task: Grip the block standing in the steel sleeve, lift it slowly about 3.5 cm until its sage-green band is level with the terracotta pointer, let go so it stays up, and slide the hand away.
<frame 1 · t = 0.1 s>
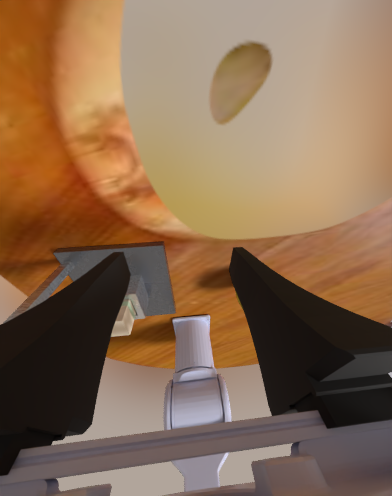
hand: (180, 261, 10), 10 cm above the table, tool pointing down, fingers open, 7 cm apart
stand: (128, 284, 25), on the table
block: (120, 307, 22), point 4 cm above the table, slide at 0.0 cm
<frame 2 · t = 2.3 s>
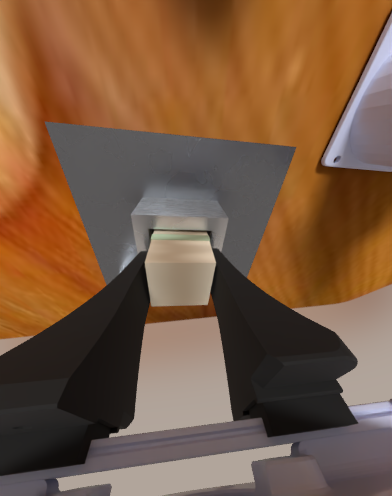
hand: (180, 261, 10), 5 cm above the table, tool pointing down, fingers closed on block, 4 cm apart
stand: (180, 226, 14), on the table
block: (180, 253, 11), point 4 cm above the table, slide at 0.0 cm, touching gripper
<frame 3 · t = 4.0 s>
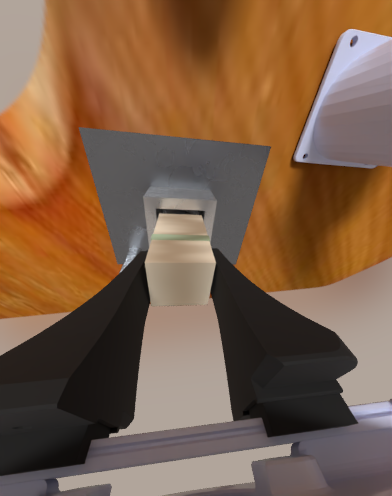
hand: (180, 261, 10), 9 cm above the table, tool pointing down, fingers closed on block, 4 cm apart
stand: (180, 212, 17), on the table
block: (180, 253, 11), point 8 cm above the table, slide at 3.6 cm, touching gripper
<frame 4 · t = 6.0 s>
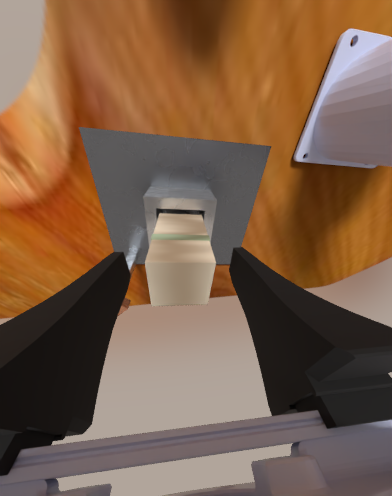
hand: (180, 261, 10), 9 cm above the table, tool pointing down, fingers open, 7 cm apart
stand: (180, 212, 17), on the table
block: (180, 253, 11), point 8 cm above the table, slide at 3.6 cm
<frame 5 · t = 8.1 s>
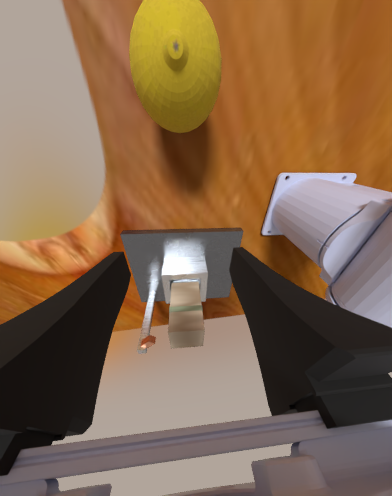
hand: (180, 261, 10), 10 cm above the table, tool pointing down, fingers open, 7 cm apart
stand: (184, 267, 24), on the table
block: (186, 312, 18), point 8 cm above the table, slide at 3.6 cm
lemon: (178, 95, 13), on the table
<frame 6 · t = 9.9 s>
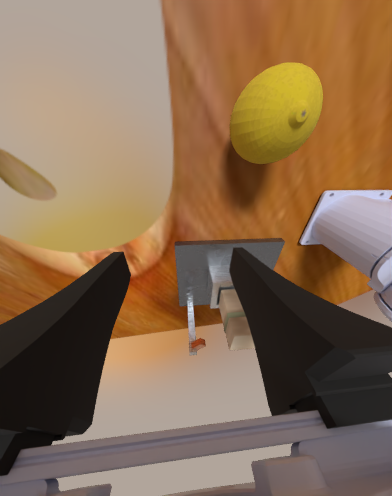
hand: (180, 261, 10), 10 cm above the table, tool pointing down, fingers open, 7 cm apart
stand: (223, 274, 26), on the table
block: (238, 316, 20), point 8 cm above the table, slide at 3.6 cm
lemon: (247, 126, 15), on the table
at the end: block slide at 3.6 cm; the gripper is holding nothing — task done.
